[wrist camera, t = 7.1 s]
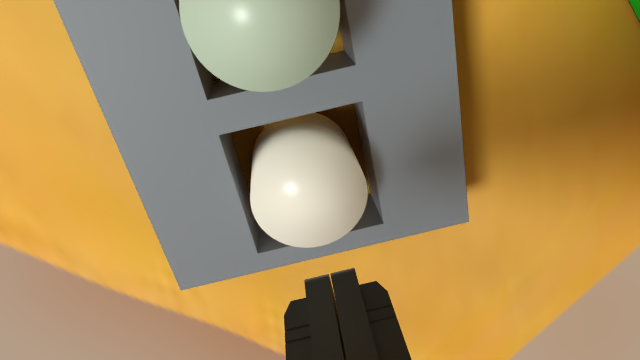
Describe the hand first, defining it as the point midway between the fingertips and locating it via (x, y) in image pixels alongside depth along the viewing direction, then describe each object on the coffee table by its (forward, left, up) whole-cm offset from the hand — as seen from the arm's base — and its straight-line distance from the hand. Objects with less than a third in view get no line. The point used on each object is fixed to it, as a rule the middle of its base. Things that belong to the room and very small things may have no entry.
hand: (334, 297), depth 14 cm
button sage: (0, -8, -8) cm, 11 cm away
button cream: (0, 0, -10) cm, 10 cm away
